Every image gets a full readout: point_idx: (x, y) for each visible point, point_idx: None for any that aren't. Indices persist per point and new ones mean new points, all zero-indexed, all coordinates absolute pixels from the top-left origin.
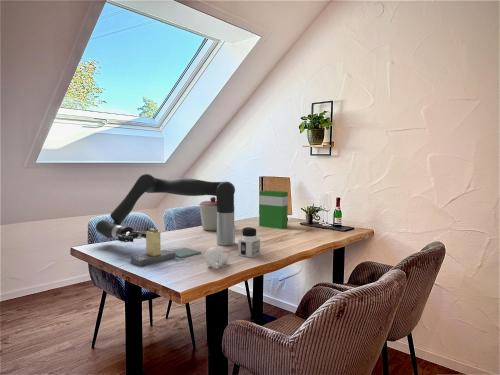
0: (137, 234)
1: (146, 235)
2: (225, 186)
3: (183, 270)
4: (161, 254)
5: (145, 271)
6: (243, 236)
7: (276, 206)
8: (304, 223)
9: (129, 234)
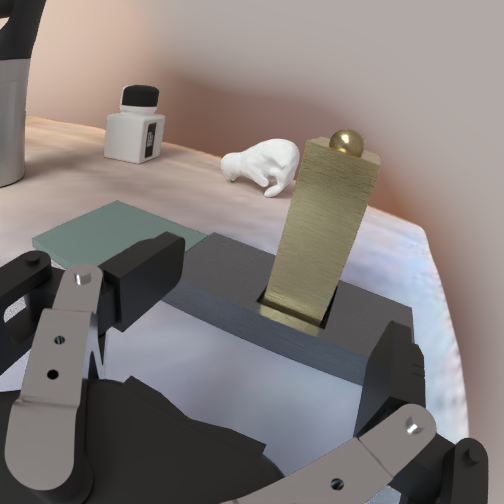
0: (110, 382)
1: (369, 195)
2: None
3: None
4: (272, 267)
5: (414, 297)
6: (148, 109)
7: None
8: None
9: (273, 476)
